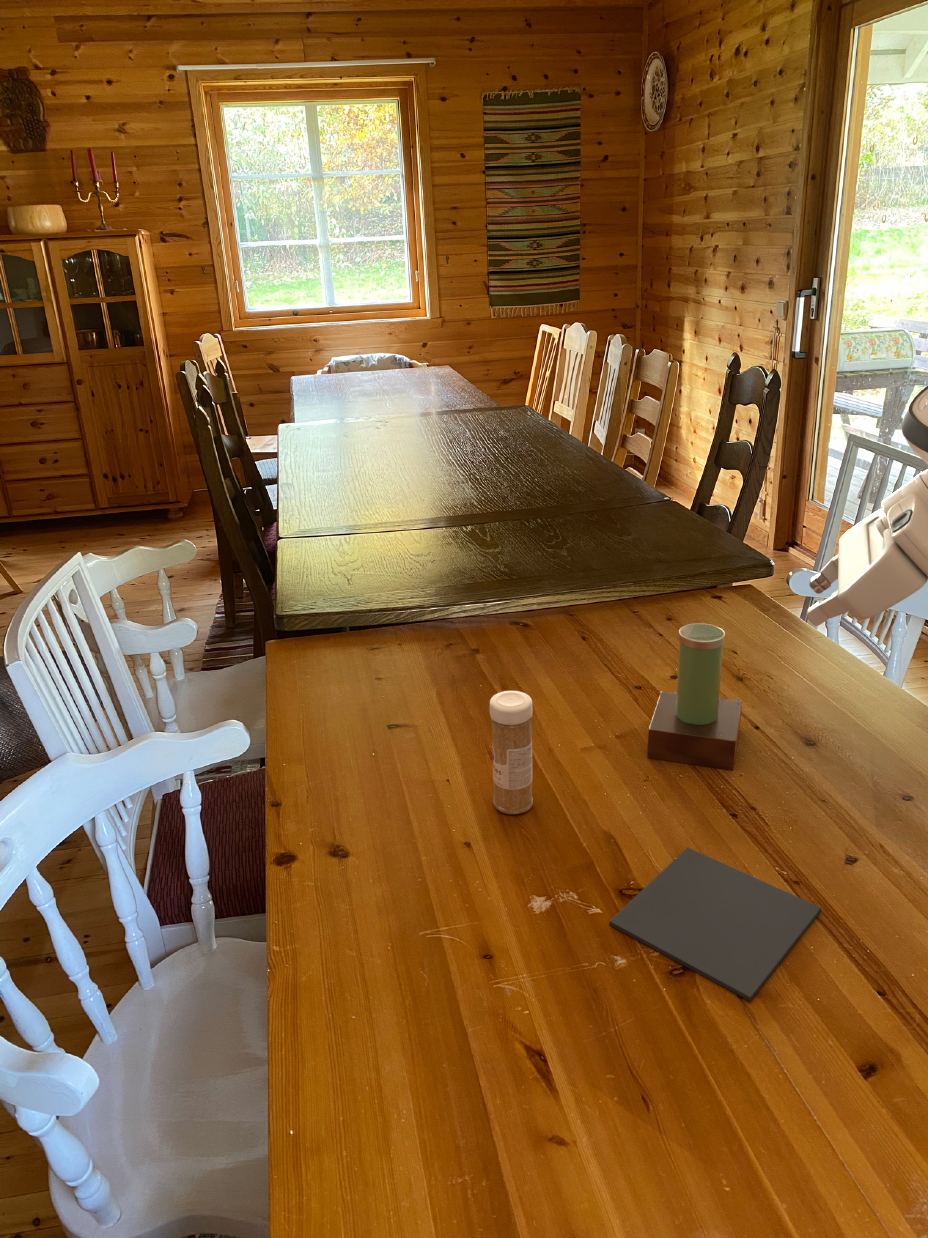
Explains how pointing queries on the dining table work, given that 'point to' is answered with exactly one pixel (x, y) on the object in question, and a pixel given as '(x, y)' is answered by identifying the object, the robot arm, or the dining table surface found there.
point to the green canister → (699, 673)
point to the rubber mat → (717, 921)
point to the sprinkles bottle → (512, 751)
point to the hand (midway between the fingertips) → (811, 602)
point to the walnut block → (694, 735)
